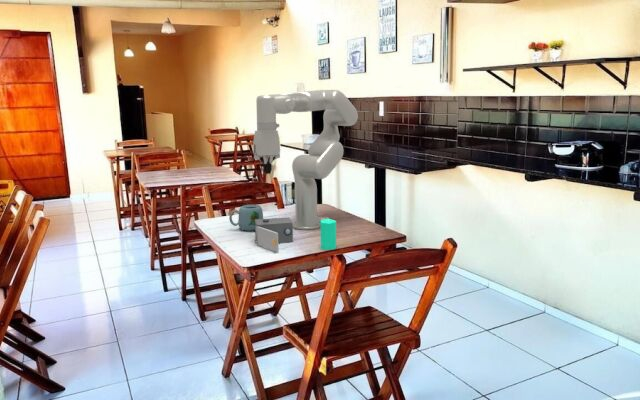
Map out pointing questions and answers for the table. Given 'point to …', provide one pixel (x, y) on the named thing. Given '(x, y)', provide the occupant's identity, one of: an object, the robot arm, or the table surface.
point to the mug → (247, 216)
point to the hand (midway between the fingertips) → (267, 173)
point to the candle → (328, 234)
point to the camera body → (277, 228)
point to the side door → (267, 238)
